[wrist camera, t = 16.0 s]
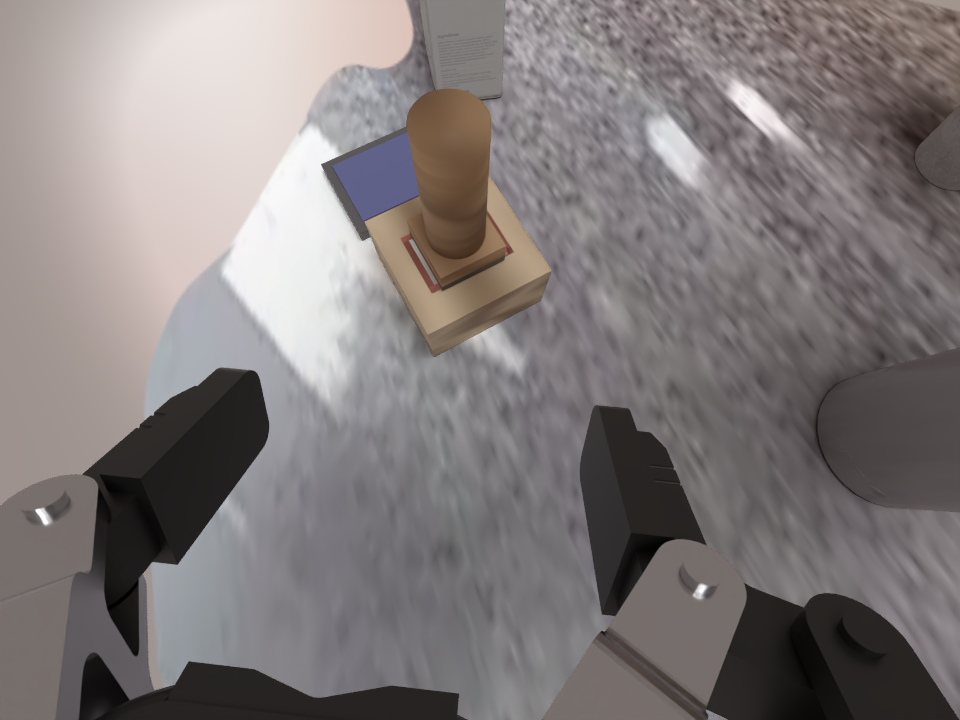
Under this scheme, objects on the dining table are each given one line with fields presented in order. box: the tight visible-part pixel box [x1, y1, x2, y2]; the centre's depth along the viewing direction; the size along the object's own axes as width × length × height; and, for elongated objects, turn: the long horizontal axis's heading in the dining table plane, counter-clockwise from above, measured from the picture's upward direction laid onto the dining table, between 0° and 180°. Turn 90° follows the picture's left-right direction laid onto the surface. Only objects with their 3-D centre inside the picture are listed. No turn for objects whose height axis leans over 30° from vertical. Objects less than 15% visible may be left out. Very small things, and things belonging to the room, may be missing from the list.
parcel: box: [365, 176, 552, 357], centre depth 32 cm, size 9×9×5 cm
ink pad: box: [321, 127, 419, 240], centre depth 36 cm, size 10×7×1 cm
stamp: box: [406, 88, 506, 291], centre depth 24 cm, size 4×4×10 cm
